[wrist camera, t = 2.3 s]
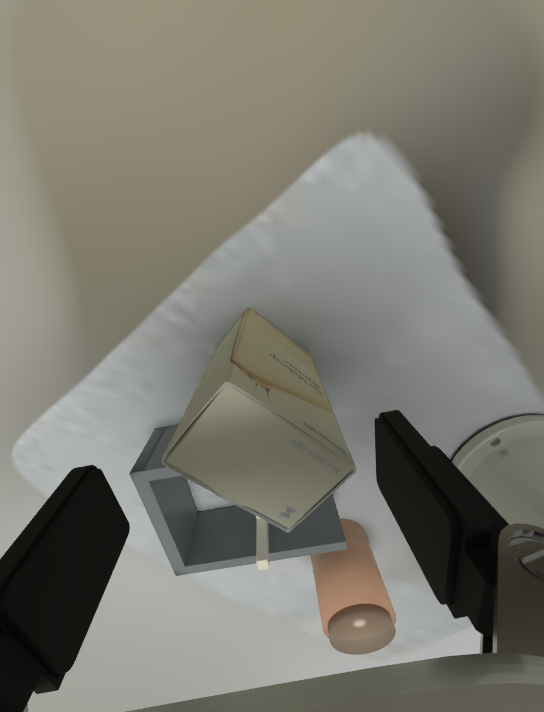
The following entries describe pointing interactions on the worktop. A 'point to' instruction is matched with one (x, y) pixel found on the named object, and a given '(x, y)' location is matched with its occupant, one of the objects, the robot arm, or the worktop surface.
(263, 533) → the bar
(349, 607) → the jar
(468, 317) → the worktop surface
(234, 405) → the skincare box
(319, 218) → the worktop surface
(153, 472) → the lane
